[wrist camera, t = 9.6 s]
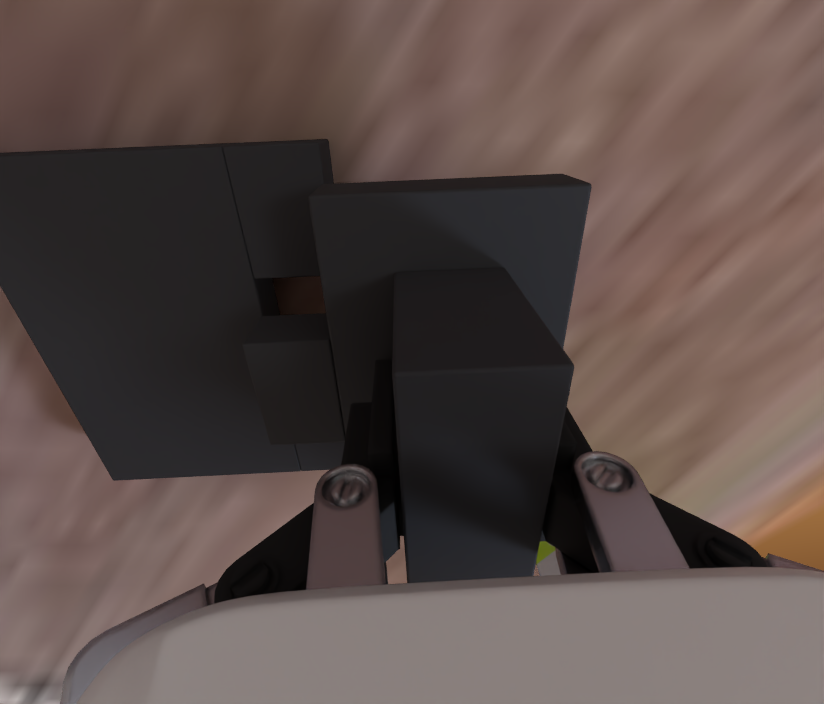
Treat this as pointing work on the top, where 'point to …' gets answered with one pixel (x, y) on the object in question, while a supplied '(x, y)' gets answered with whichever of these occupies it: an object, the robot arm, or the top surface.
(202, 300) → the base pad
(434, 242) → the pad
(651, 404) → the top surface
